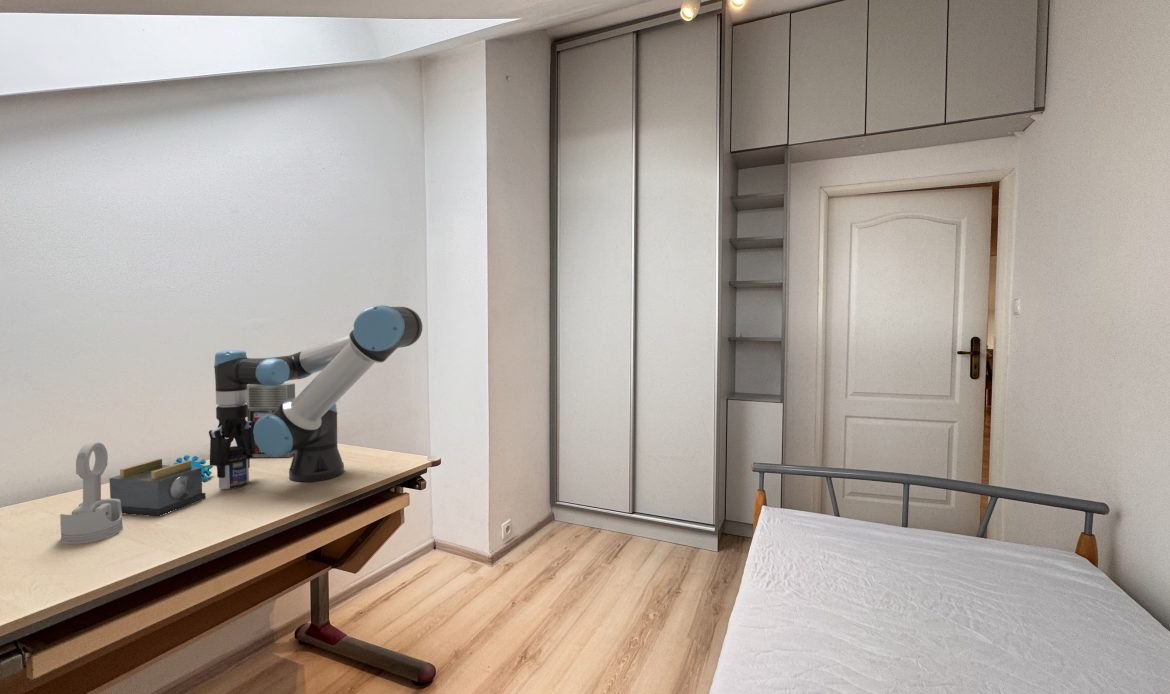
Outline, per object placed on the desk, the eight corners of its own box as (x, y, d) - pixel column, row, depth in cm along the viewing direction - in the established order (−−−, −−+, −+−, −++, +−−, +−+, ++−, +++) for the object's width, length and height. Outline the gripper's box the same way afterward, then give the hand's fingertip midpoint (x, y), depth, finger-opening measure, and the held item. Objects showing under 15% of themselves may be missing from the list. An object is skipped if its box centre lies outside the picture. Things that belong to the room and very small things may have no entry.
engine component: (49, 546, 111) (107, 541, 114) (44, 451, 110) (102, 448, 112) (82, 526, 121) (134, 522, 124) (77, 439, 120) (130, 437, 123)
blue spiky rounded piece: (182, 483, 147) (169, 455, 150) (171, 496, 148) (158, 468, 151) (222, 477, 157) (209, 451, 160) (211, 490, 159) (198, 464, 162)
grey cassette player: (246, 458, 179) (244, 385, 177) (256, 453, 185) (254, 383, 183) (288, 458, 180) (287, 385, 178) (297, 453, 186) (295, 383, 184)
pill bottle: (235, 489, 147) (233, 451, 147) (216, 488, 148) (214, 450, 148) (252, 482, 153) (251, 445, 153) (233, 481, 154) (232, 444, 154)
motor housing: (205, 498, 140) (204, 459, 140) (159, 516, 127) (157, 474, 127) (157, 494, 143) (156, 456, 142) (107, 512, 130) (105, 470, 129)
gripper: (247, 399, 159) (249, 473, 161) (190, 410, 141) (193, 494, 142) (269, 399, 158) (271, 475, 160) (214, 411, 139) (217, 496, 141)
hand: (234, 484), depth 151 cm, fingers closed on pill bottle, 6 cm apart
